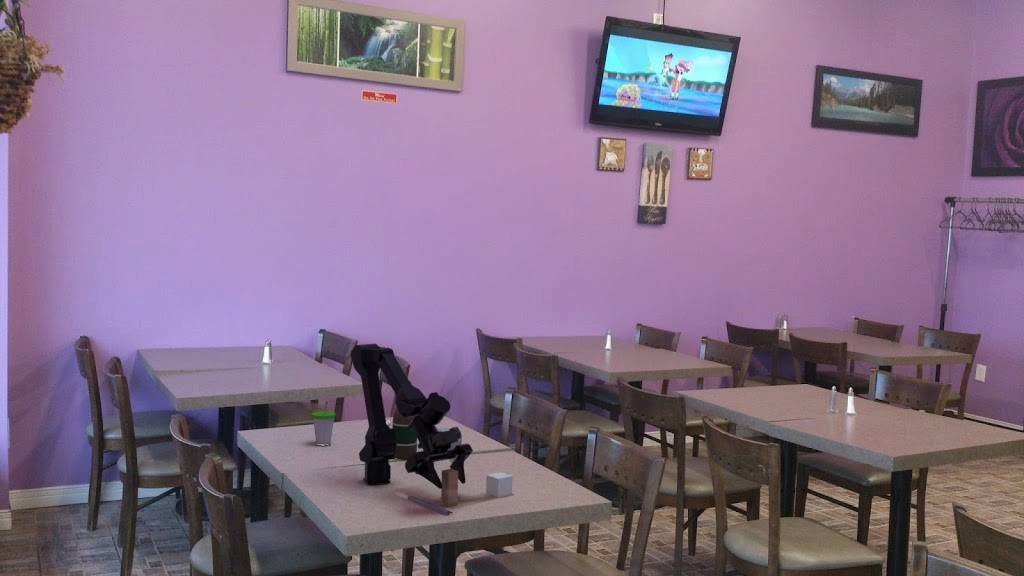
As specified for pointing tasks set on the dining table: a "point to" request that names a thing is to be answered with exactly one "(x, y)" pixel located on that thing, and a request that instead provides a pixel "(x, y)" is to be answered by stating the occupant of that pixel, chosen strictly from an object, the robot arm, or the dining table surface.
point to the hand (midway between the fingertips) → (452, 485)
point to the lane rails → (428, 505)
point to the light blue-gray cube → (499, 484)
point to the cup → (323, 425)
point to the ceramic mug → (452, 443)
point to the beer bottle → (404, 436)
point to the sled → (451, 492)
